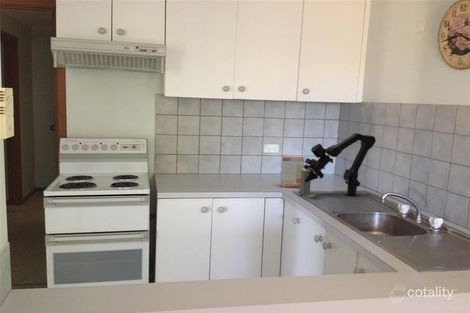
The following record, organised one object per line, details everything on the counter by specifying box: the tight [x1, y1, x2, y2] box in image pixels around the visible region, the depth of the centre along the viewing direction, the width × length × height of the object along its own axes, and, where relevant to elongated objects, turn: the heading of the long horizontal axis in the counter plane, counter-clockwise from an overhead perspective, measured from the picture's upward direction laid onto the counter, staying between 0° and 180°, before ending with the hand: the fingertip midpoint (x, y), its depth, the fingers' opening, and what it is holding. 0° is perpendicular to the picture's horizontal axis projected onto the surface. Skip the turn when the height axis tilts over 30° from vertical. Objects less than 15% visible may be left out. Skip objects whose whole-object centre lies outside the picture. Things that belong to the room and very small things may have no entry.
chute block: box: [299, 168, 312, 194], centre depth 255 cm, size 4×4×14 cm
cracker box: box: [280, 154, 305, 189], centre depth 279 cm, size 14×6×21 cm, turn 92°
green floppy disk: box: [299, 192, 316, 198], centre depth 257 cm, size 7×8×1 cm
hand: (303, 181), depth 255 cm, fingers closed on chute block, 4 cm apart
